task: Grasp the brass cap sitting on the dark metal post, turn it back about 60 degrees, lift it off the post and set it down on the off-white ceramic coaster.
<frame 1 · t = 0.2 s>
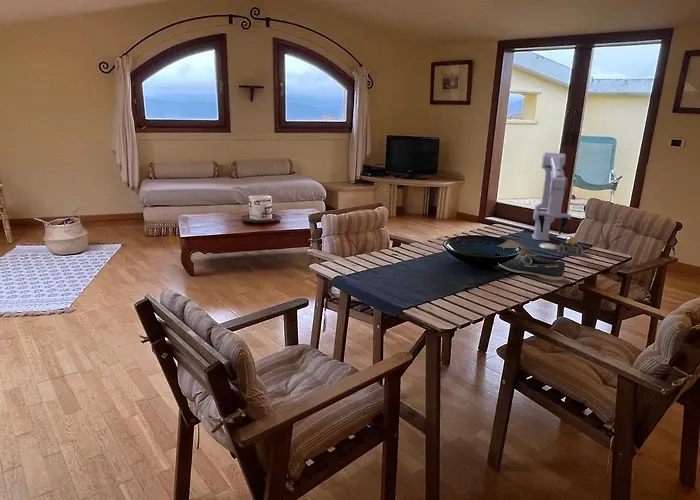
hand: (550, 232, 228), 10 cm above the table, tool pointing down, fingers open, 7 cm apart
post base: (569, 251, 235), on the table
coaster: (549, 247, 241), on the table
artifact: (513, 257, 224), on the table
boat shoe: (529, 274, 204), on the table
cap: (571, 244, 233), point 3 cm above the table, touching post base
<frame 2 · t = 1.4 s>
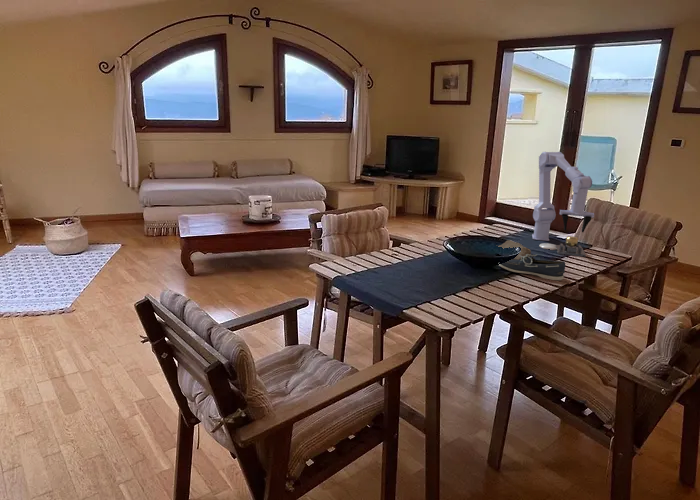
hand: (573, 230, 231), 10 cm above the table, tool pointing down, fingers open, 7 cm apart
nothing on the table moved.
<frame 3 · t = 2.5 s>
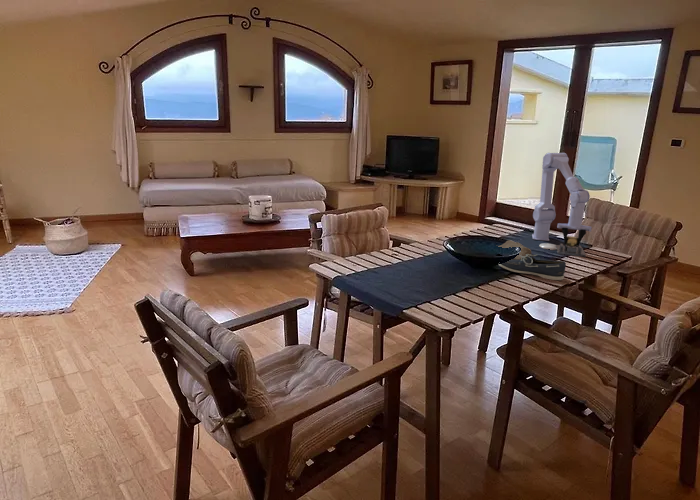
hand: (571, 244, 233), 4 cm above the table, tool pointing down, fingers closed on cap, 5 cm apart
cap: (571, 244, 233), point 3 cm above the table, touching gripper, post base
everything else where it was.
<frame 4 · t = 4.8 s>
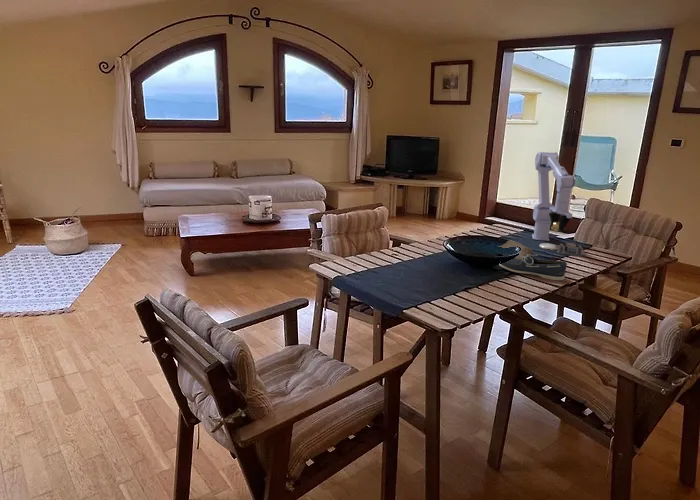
hand: (557, 229, 236), 10 cm above the table, tool pointing down, fingers closed on cap, 5 cm apart
cap: (557, 230, 236), point 9 cm above the table, touching gripper
everything else where it was.
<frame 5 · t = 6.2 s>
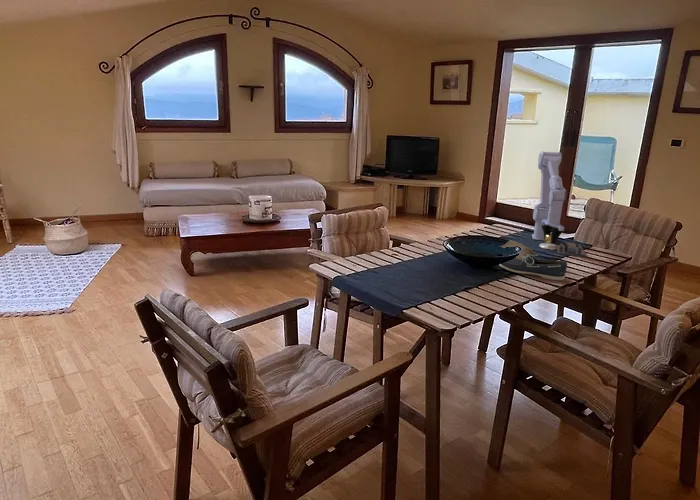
hand: (550, 241, 240), 3 cm above the table, tool pointing down, fingers closed on cap, 5 cm apart
cap: (550, 242, 240), point 3 cm above the table, touching gripper
when the fingers open (3 cm above the table, at t = 7.2 s): cap drops 2 cm, resting on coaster.
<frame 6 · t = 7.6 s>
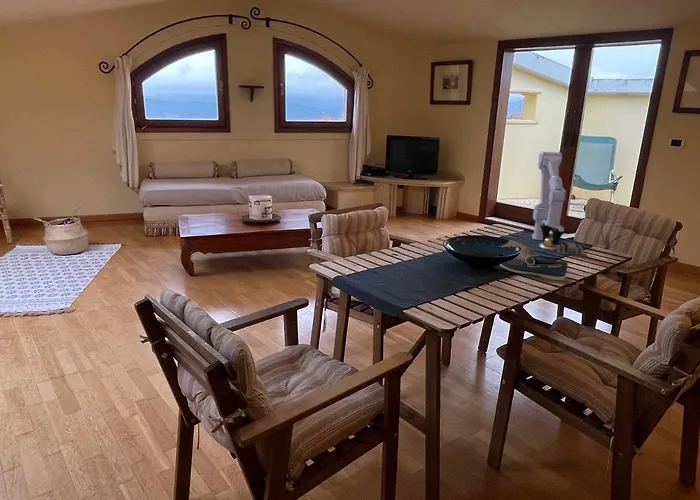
hand: (549, 242, 240), 3 cm above the table, tool pointing down, fingers open, 7 cm apart
cap: (549, 245, 240), point 1 cm above the table, touching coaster
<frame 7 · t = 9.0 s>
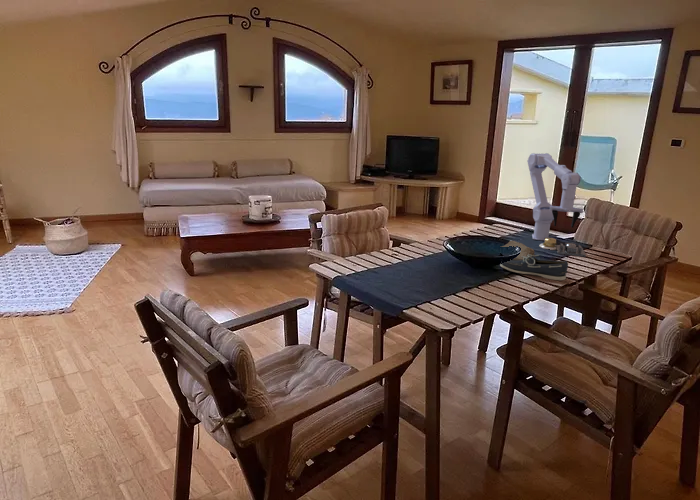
hand: (563, 226, 238), 10 cm above the table, tool pointing down, fingers open, 7 cm apart
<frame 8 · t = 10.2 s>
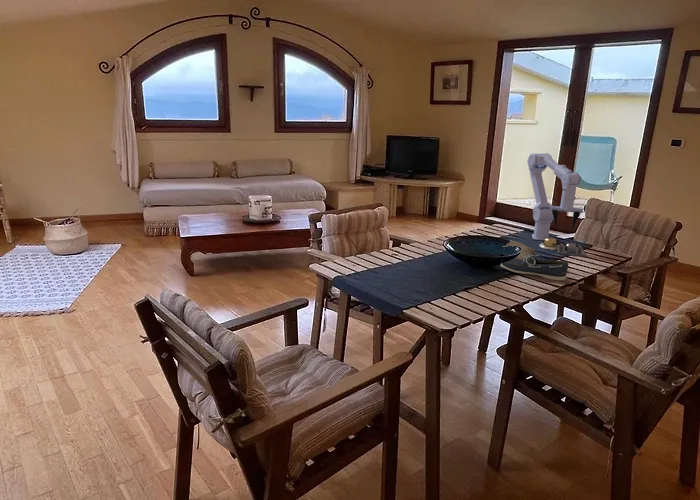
hand: (563, 226, 238), 10 cm above the table, tool pointing down, fingers open, 7 cm apart
at the end: cap inside the target area on the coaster (0.1 cm from its centre), point 0.6 cm above the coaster's base; cap tilted 0°; the gripper is holding nothing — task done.
